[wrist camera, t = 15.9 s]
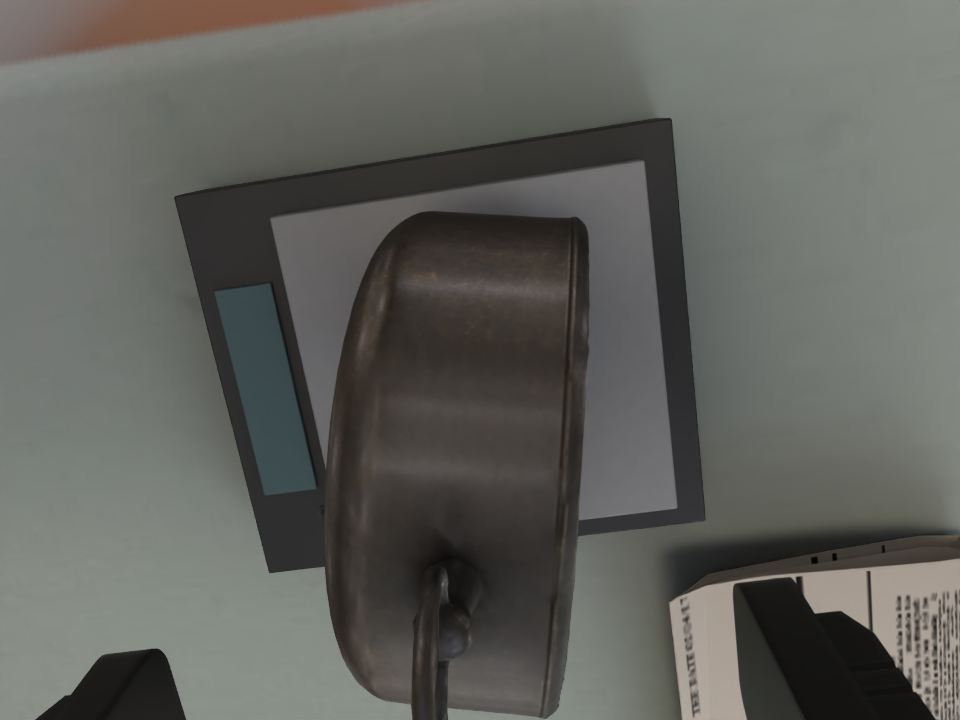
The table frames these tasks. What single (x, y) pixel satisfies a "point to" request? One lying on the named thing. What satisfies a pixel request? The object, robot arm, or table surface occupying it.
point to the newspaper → (832, 587)
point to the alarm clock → (460, 463)
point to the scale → (341, 266)
